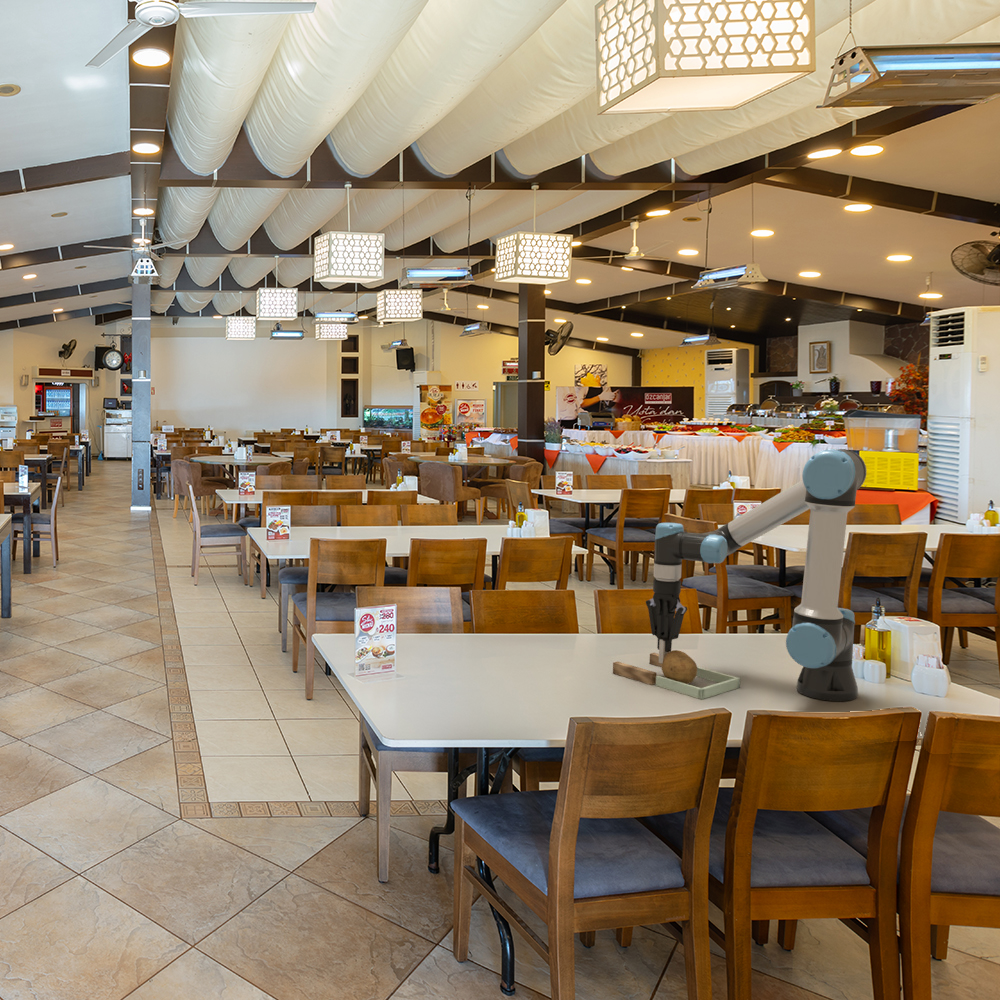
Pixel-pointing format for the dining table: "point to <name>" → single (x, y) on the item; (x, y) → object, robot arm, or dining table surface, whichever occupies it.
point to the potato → (679, 667)
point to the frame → (722, 686)
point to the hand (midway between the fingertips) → (663, 662)
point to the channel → (638, 670)
